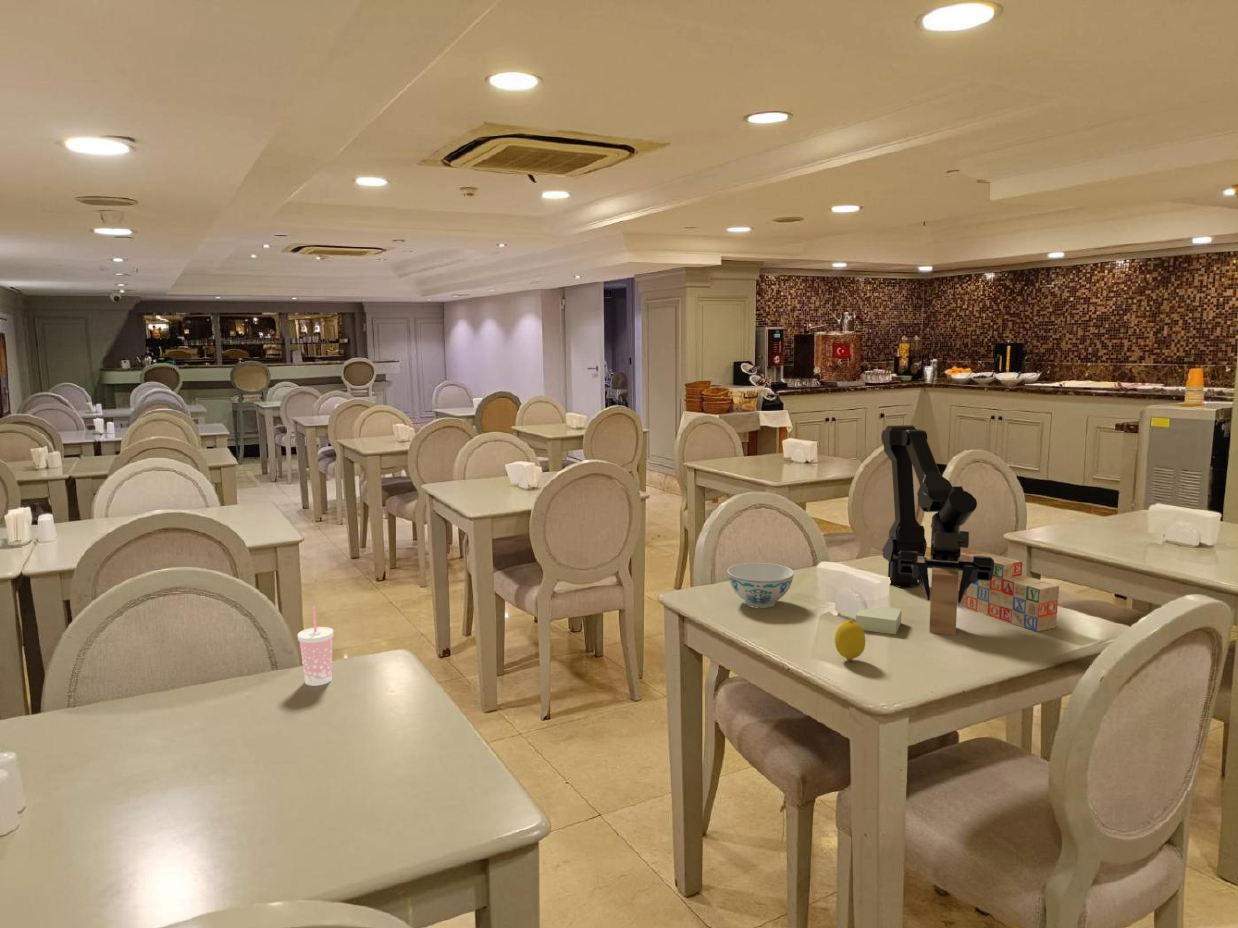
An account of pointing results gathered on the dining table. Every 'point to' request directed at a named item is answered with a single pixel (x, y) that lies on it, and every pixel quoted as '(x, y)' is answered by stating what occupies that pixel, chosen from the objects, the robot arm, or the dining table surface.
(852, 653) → the lemon
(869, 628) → the base slab
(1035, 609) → the stack of blocks
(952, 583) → the pillar
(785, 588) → the chinaware
